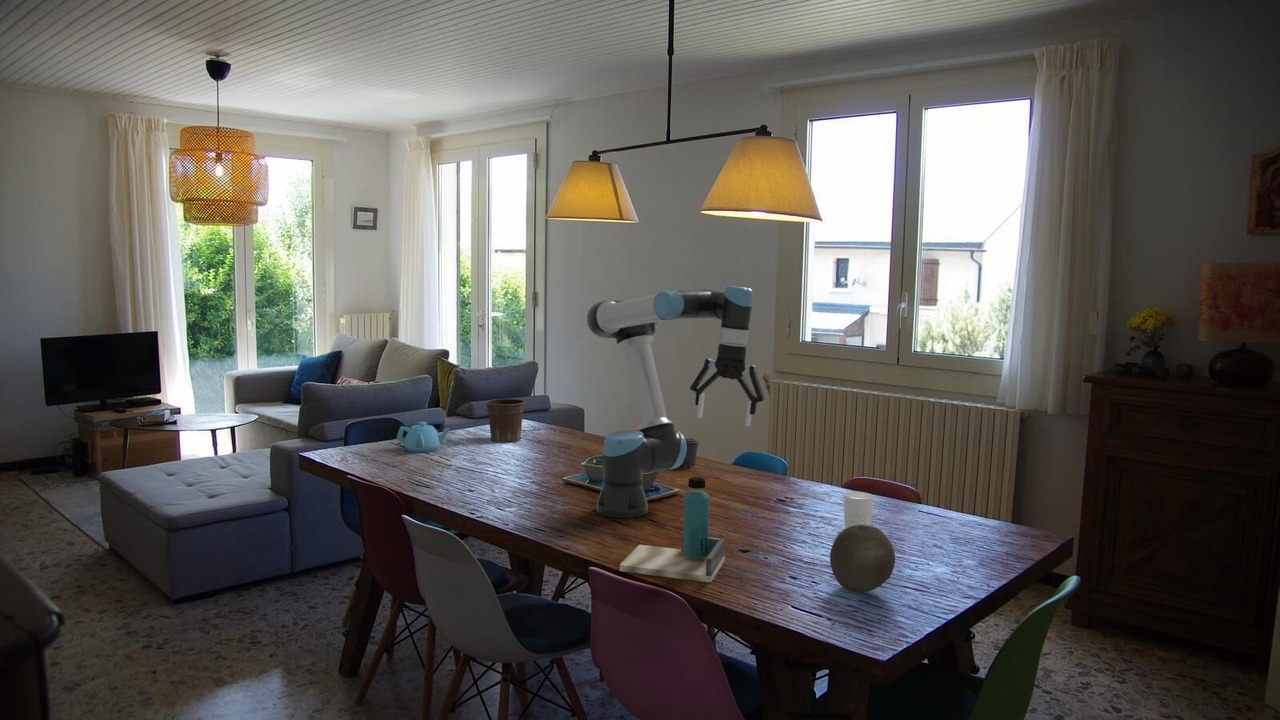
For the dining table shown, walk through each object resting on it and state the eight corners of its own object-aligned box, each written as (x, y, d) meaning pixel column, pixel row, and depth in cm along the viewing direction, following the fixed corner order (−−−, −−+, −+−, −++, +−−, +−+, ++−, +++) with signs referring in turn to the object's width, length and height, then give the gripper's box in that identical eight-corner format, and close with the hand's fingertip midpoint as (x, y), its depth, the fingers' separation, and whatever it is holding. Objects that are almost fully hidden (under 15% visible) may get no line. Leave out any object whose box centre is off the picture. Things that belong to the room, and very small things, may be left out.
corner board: (619, 570, 201) (619, 548, 200) (639, 550, 216) (639, 529, 216) (710, 582, 195) (711, 559, 194) (724, 560, 210) (725, 538, 209)
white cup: (855, 535, 232) (857, 500, 231) (836, 527, 239) (838, 493, 238) (877, 532, 236) (879, 497, 235) (858, 524, 243) (859, 490, 242)
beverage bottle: (701, 565, 201) (703, 482, 199) (676, 560, 205) (678, 478, 203) (713, 557, 207) (715, 477, 205) (689, 552, 210) (691, 473, 208)
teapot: (426, 443, 342) (426, 417, 340) (450, 449, 332) (450, 421, 331) (394, 449, 330) (394, 422, 329) (418, 455, 320) (418, 427, 319)
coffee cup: (702, 465, 313) (703, 438, 312) (691, 469, 306) (692, 442, 305) (683, 462, 317) (684, 436, 316) (672, 466, 310) (673, 439, 309)
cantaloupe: (824, 598, 187) (827, 531, 185) (833, 577, 200) (836, 514, 198) (890, 608, 182) (894, 539, 180) (895, 586, 195) (899, 522, 193)
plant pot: (479, 442, 346) (479, 403, 344) (492, 435, 362) (493, 397, 360) (518, 444, 343) (518, 405, 341) (529, 437, 359) (530, 399, 357)
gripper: (781, 349, 227) (771, 427, 230) (693, 337, 236) (684, 412, 239) (775, 351, 220) (765, 431, 223) (684, 338, 229) (675, 415, 232)
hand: (723, 421), depth 231 cm, fingers open, 13 cm apart
